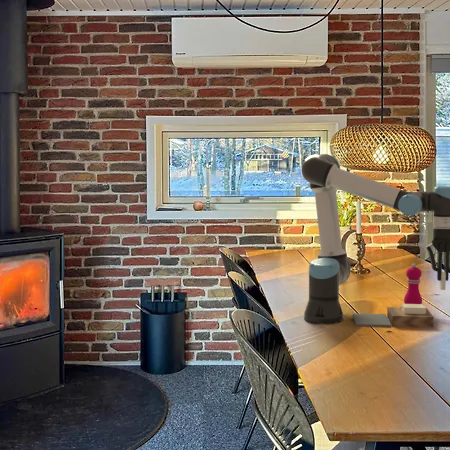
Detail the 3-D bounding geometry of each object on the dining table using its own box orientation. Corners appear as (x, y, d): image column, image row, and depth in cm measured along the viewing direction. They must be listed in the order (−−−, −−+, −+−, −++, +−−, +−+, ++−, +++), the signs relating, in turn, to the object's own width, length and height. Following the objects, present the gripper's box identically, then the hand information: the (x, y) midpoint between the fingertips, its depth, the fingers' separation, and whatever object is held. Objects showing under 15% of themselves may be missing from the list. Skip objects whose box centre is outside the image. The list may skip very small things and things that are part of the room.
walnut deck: (392, 326, 225) (392, 315, 225) (387, 316, 238) (387, 307, 238) (433, 327, 223) (433, 316, 223) (426, 317, 236) (426, 307, 236)
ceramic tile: (404, 313, 228) (404, 307, 228) (401, 309, 233) (401, 303, 233) (425, 314, 227) (426, 307, 227) (422, 310, 232) (423, 304, 232)
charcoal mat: (355, 326, 226) (355, 323, 226) (352, 315, 241) (352, 313, 241) (391, 326, 224) (391, 324, 224) (385, 316, 239) (385, 314, 239)
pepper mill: (424, 313, 242) (425, 265, 240) (406, 313, 242) (407, 265, 240) (418, 309, 249) (420, 261, 247) (401, 309, 250) (402, 261, 247)
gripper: (428, 228, 222) (426, 291, 225) (464, 228, 220) (463, 291, 223) (423, 226, 229) (422, 286, 232) (459, 226, 228) (457, 286, 230)
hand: (442, 288), depth 228 cm, fingers closed
